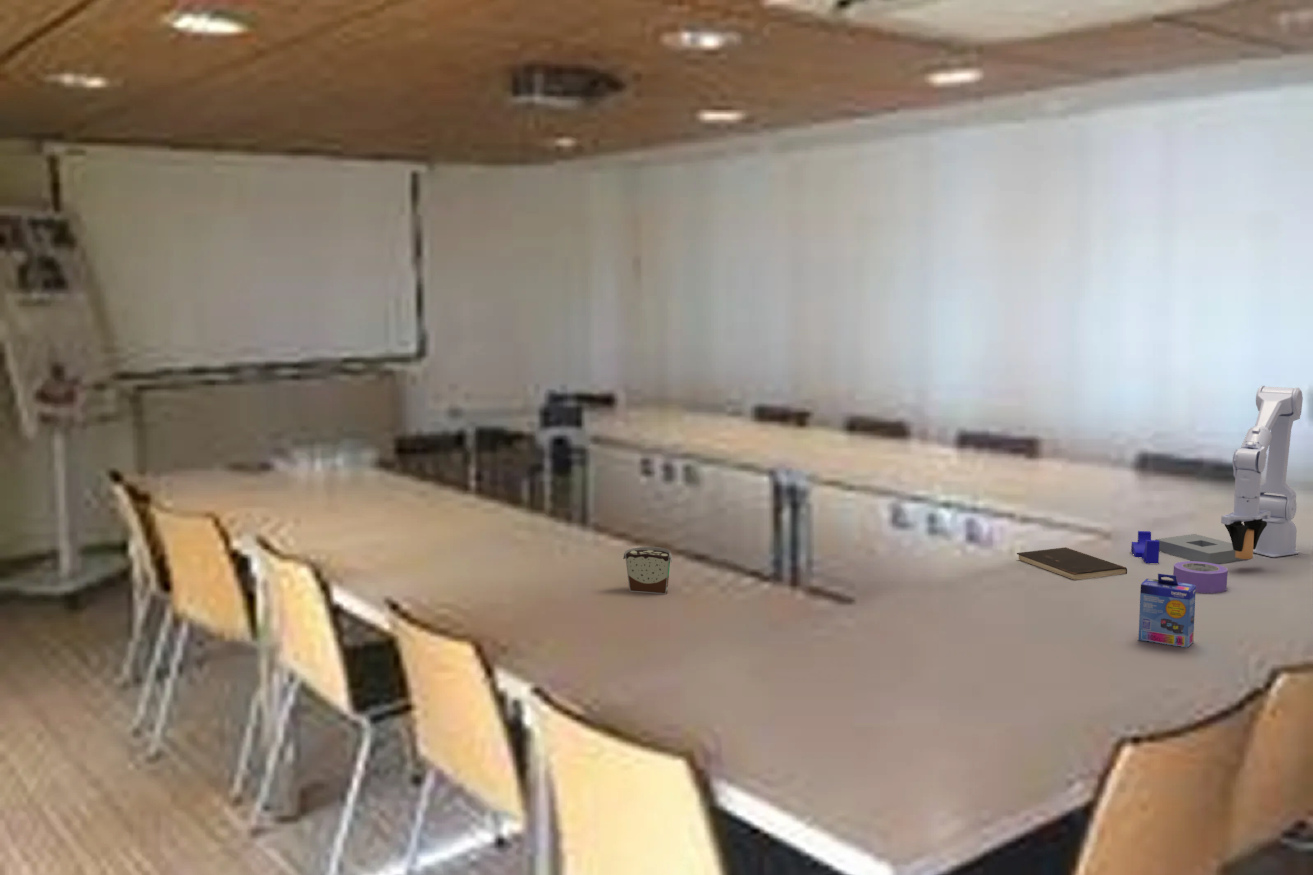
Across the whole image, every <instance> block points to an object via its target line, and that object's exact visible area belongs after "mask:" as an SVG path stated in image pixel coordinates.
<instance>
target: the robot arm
mask: <svg viewBox="0 0 1313 875" xmlns="http://www.w3.org/2000/svg"><path fill="white" fill-rule="evenodd" d="M1303 398H1304V397H1303V393H1302V390H1301V389H1300V388H1299V387H1279V386H1265V385H1261V386H1260V387H1259V388H1257V390H1256V395H1255V405H1256V407H1257V412H1258V414H1257V417H1256V422H1255V425H1254V426H1251V427H1250V428H1249V429H1248V430H1247V433H1246V435H1245V437H1244V439H1243V441H1242V444H1241V446H1240V447H1239V448H1238V449H1235V451H1234V452H1233V454H1232V462H1231V463H1232V469H1233V474H1232V475H1233V478H1234V479H1235V480H1234V498H1233V499H1234V500H1233V511H1232V512H1231V513H1227V514H1224V515H1221V517H1220V518H1221V520H1220V522H1221V523H1220V524H1221V525H1223V524H1224V527H1225V529H1227V532H1228V534H1229V537H1230V541H1231V543H1232V545H1233V550H1235V551H1239V552H1241V551H1242V549H1243V543H1244V537H1245V533H1246V531H1247V529H1253V530H1254V545H1253V554H1254V553H1255V554H1258V555H1260V556H1261V555H1262V556H1266V557H1270V558H1277V557H1285V556H1291V555H1297V554H1299V551H1297V549H1296V547H1297V546H1296V544H1297V526H1296V523H1295V522H1294V521H1293V519H1294V518H1295V516H1296V514H1297V494H1296V491H1295V490H1294V489H1293V488H1291V486H1289V485H1288V484H1287V483H1286V482H1287V481H1286V480H1287V472H1288V462H1289V453H1290V445H1291V436H1292V428H1293V424H1294V422H1295V421H1297V420H1301V419H1300V418H1301V415H1302V409H1303V400H1304V399H1303ZM1267 452H1268V454H1267ZM1266 461H1267V463H1266ZM1265 466H1266V472H1265V473H1266V474H1265V480H1264V481H1265V482H1263V483H1262V482H1261V481H1262V480H1261V479H1262V473H1263V472H1264V470H1265ZM1267 493H1268V494H1267ZM1277 494H1278V495H1277Z"/></svg>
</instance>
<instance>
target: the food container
mask: <svg viewBox="0 0 1313 875" xmlns="http://www.w3.org/2000/svg"><path fill="white" fill-rule="evenodd" d="M623 560H625V564H626V565H625V566H626V573H627V581H628V582H627V583H628V589H629V590H628V591H629V592H630V593H631V592H632V593H644V594H645V593H646V594H656V595H657V594H658V595H667V594H668V590H669V587H668V586H669V579H670V576H669V575H670V564H671V563H673V561H674V560H673V554H672V553H671V550H670V549H667V548H663V547H659V546H658V547H657V546H640V547H639V546H638V547H632V548H629V549H626V550H624V553H623Z"/></svg>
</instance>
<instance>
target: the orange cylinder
mask: <svg viewBox="0 0 1313 875" xmlns="http://www.w3.org/2000/svg"><path fill="white" fill-rule="evenodd" d="M1253 545H1254V530H1253V529H1247V531H1246V533H1245V537H1244V543H1243V549H1242V551H1241V552H1239V551H1235V557H1236V558H1240V559H1246V560H1251V559H1252V560H1253V559H1254V553H1253Z"/></svg>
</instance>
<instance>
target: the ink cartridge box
mask: <svg viewBox="0 0 1313 875" xmlns="http://www.w3.org/2000/svg"><path fill="white" fill-rule="evenodd" d="M1164 578H1169V579H1164ZM1173 579H1174V580H1173ZM1139 594H1140V596H1139V618H1138V619H1139V620H1138V622H1139V623H1138V641H1143V642H1147V641H1149V642H1148V643H1153V642H1155V643H1154V644H1159V643H1160V644H1161V643H1162V644H1161V645H1166V644H1167V646H1171V645H1173V647H1177V646H1181V647H1180V648H1183V647H1188V648H1189V647H1190V646H1191V645H1192V644H1193V643H1194V642H1195V641H1194V639H1195V638H1194V636H1195V635H1194V634H1195V633H1194V632H1195V610H1196V586H1195V585H1193V584H1187V583H1179V582H1177V578H1176V576H1175V575H1173V574H1166V573H1157V579H1154V578H1146V579H1144V581H1142V582H1141V584H1140V593H1139Z"/></svg>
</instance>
